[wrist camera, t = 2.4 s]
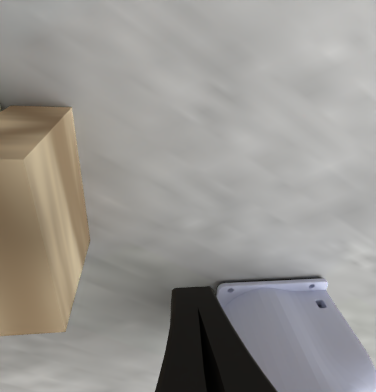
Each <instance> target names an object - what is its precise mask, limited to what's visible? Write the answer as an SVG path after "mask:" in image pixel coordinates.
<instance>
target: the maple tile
mask: <svg viewBox="0 0 376 392" xmlns="http://www.w3.org/2000/svg"><path fill="white" fill-rule="evenodd" d="M89 243H90V236H89V228H88V221H87V214H86V207H85V199H84V192H83V185H82V178H81V171H80V163H79V156H78V149H77V142H76V135H75V127H74V120H73V113H72V107H42V106H12V105H11V106H10V107H8V108H6V109H4V110H3V111H1V112H0V336H9V335H24V334H39V333H55V332H65V331H66V328H67V324H68V320H69V317H70V313H71V309H72V305H73V302H74V298H75V294H76V291H77V287H78V283H79V280H80V276H81V272H82V268H83V265H84V261H85V257H86V254H87V250H88V246H89Z"/></svg>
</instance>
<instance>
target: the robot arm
mask: <svg viewBox="0 0 376 392" xmlns="http://www.w3.org/2000/svg"><path fill="white" fill-rule="evenodd" d="M327 287H328V282H327V280H326V279H301V280H280V281H259V282H238V283H222V284H220V285H219V286H218V288H217V294H216V295H215V293H214V291H213V289H212V288H211V287H210V286H207V287H186V288H175V289H173V290H172V299H171V319H170V330H169V335H168V341H167V346H166V351H165V355H164V359H163V363H162V367H161V371H160V375H159V379H158V383H157V386H156V390H155V392H376V370H375V367H374V365H373V362H372V360H371V358H370V356H369V355H368V353H367V351H366V350H365V348H364V347H363V345H362V344H361V342H360V341H359V339H358V338H357V336H356V335H355V333H354V332H353V330H352V329H351V327H350V326H349V324H348V323H347V321H346V320H345V318H344V317H343V315H342V314H341V312H340V311H339V309H338V308H337V306H336V305H335V303H334V302H333V300H332V299H331V297H330V296H329V294H328V293H327V291H326V289H327ZM230 288H231V289H230Z"/></svg>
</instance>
